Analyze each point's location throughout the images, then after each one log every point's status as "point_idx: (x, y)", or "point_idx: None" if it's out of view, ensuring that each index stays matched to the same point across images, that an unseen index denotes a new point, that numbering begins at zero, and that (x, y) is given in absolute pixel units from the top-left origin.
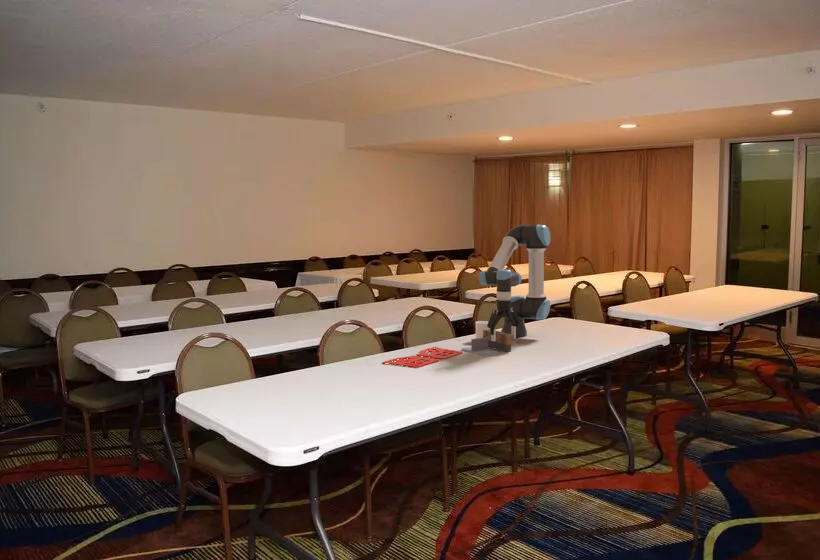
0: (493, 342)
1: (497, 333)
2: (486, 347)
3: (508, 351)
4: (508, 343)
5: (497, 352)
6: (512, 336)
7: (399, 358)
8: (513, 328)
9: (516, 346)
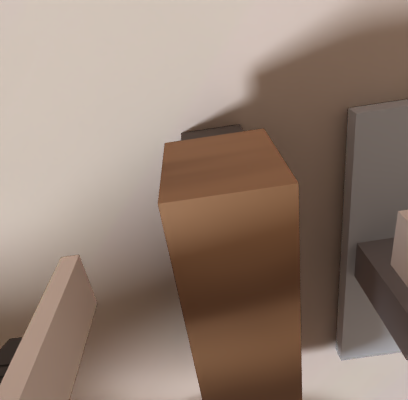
0: None
1: (299, 361)
2: (383, 251)
3: (214, 130)
4: (242, 137)
5: (364, 109)
6: (170, 188)
7: None
8: (42, 392)
9: (29, 285)
